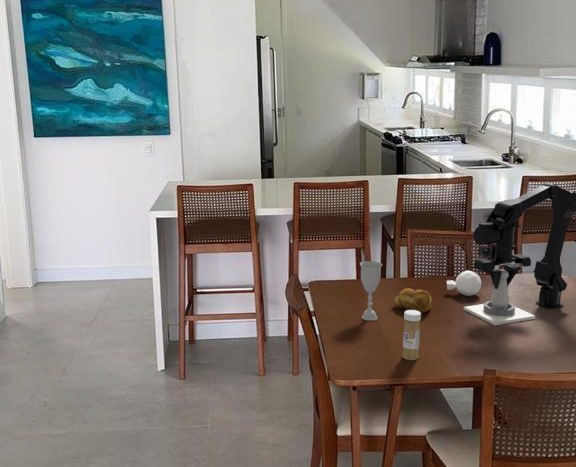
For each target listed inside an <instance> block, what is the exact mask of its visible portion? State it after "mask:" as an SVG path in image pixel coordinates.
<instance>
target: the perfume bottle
mask: <svg viewBox="0 0 576 467" xmlns="http://www.w3.org/2000/svg"><path fill="white" fill-rule="evenodd" d="M446 287H447V288H446V289H447V290H454V289H456V290H457V292H459V293H460V294H461V295H464V296H467V297H471V296H474V295H476V294H477V293H478V292H479V291H480V290H481V287H482V280H481V277H480V275H479V274H477V273H476V272H474V271H471V270H464V271H462V272H460V273H459V275H458V276H456V279H455V281H454V280H452V279H451V280H446Z"/></svg>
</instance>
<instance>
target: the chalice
mask: <svg viewBox="0 0 576 467" xmlns="http://www.w3.org/2000/svg"><path fill="white" fill-rule="evenodd" d="M359 265H360V281H361V283H362V285H363V288H364V290H365V291H366V292H367V294H368V296H367V300H368V302H366V304H367V309H366V310H364V312H363V314H362V315H361V319H363V320H364V321H376V320H378V316H377V314H376V312H375V310H373V308H372V305H373V302H372V300H373V296H372V295H373V293H374V292H375V291H376V289H377V288H378V286H379V284H380V281H381V276H382V275H381V274H382V273H381V271H382V270H381V268H382V266H383V263H382V262H379V261H369V260H368V261H366V260H365V261H361V262H360V263H359Z"/></svg>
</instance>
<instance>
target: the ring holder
mask: <svg viewBox="0 0 576 467" xmlns="http://www.w3.org/2000/svg"><path fill="white" fill-rule="evenodd" d="M463 310H464V311H465V312H468V313H469V314H472V315H474V317H477V318H479V319H481V320H483V321H485V322H487V323H488V324H490V325H493V326H499V325H505V324H511V323H512V324H513V323H517V322H518V323H519V322H524V321H529V320H535V319H536V315H534V314H532V313H530V312H527V311H525V310H523V309H521V308H518V307H516V306H515V305H514V304H513V303H511V302H509V305H508V307H507V309H495V308H493V307H492V304H491V300H487V301H485V302H484V303H480V304H474V305H467V306H463Z"/></svg>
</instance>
